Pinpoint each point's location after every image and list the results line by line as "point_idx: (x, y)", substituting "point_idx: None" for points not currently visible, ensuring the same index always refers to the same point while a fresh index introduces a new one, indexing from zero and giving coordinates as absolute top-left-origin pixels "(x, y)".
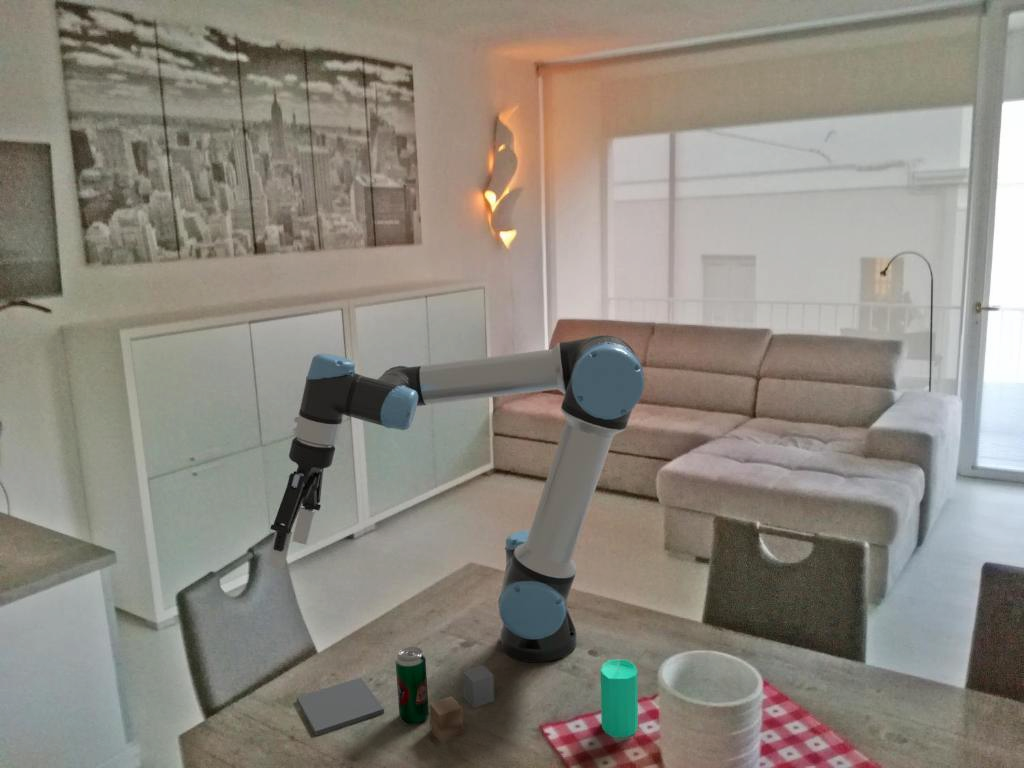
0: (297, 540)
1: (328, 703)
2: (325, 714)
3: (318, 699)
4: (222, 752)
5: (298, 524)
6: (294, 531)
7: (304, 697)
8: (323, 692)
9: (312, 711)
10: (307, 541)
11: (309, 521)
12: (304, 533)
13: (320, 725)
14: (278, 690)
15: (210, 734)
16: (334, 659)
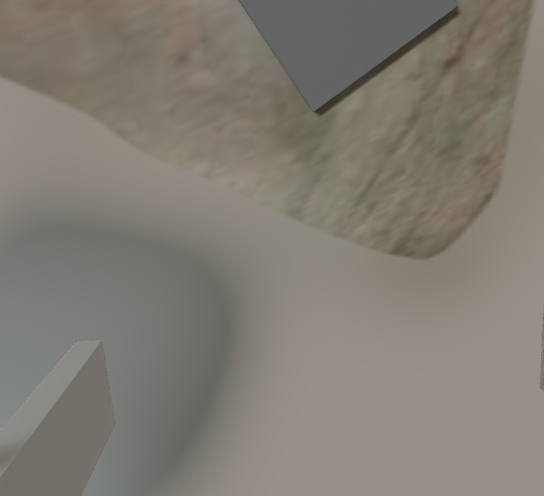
0: (108, 401)
1: (342, 14)
2: (389, 5)
3: (323, 50)
4: (480, 187)
5: (71, 489)
6: (94, 463)
7: (315, 91)
8: (291, 48)
9: (375, 46)
10: (75, 348)
11: (38, 446)
12: (83, 400)
13: (434, 2)
14: (267, 171)
15: (421, 235)
16: (106, 83)
